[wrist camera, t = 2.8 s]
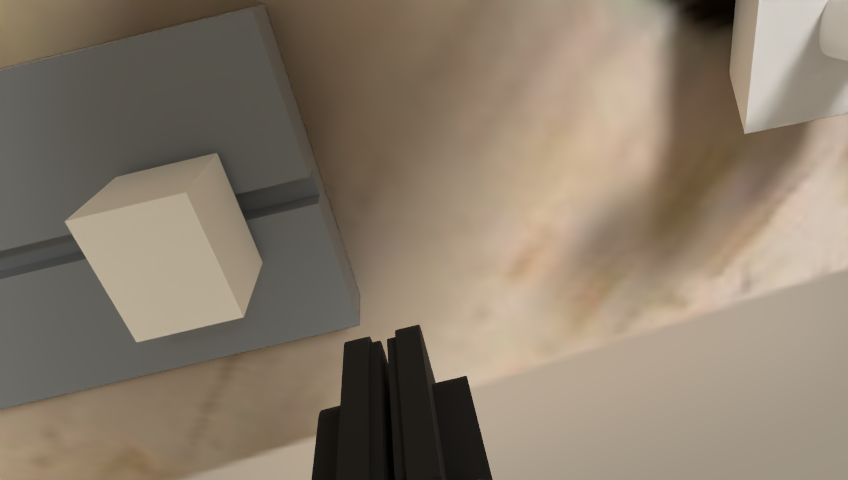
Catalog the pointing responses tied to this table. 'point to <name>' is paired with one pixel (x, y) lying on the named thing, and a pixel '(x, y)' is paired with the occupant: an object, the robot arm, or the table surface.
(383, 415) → the robot arm
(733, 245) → the table surface
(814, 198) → the table surface
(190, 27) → the fader board
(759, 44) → the figurine
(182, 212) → the fader knob
